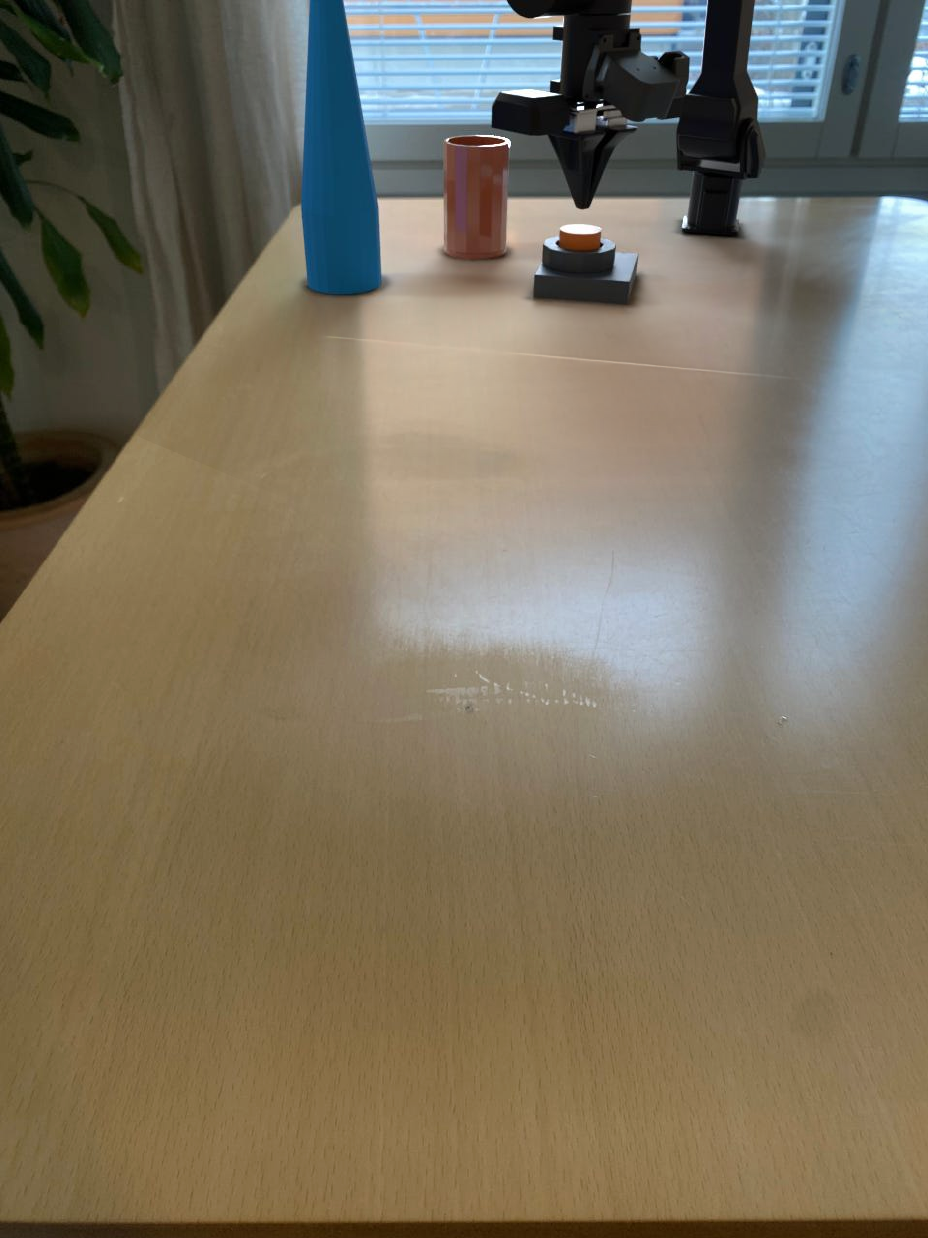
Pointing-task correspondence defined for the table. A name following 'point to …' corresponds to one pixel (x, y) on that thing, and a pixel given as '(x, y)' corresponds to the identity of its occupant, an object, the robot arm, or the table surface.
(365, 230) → the bottle
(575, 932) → the table surface
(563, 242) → the orange push button
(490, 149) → the cup
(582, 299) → the button base
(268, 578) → the table surface
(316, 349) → the table surface
